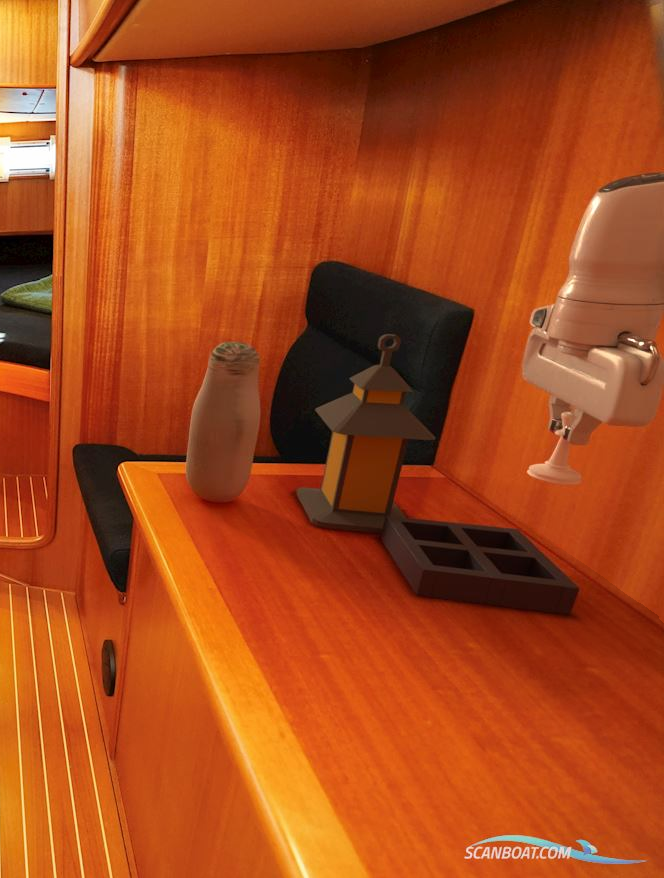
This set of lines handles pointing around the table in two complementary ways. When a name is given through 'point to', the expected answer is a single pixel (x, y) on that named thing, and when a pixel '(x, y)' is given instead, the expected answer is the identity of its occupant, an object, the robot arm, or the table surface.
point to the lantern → (364, 450)
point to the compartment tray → (477, 565)
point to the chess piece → (558, 458)
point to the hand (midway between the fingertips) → (566, 438)
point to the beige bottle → (224, 424)
